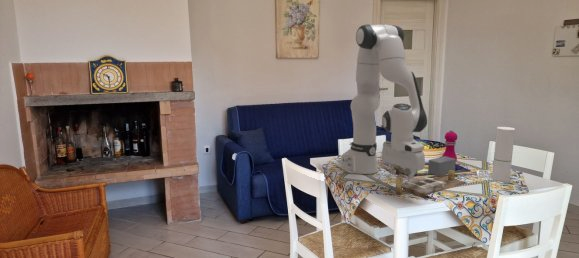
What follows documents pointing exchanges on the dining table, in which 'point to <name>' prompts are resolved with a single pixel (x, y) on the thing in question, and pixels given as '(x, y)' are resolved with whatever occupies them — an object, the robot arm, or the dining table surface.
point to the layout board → (449, 185)
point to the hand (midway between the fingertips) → (402, 176)
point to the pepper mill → (450, 144)
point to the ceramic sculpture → (403, 170)
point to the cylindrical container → (503, 154)
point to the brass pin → (399, 185)
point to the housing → (441, 166)
